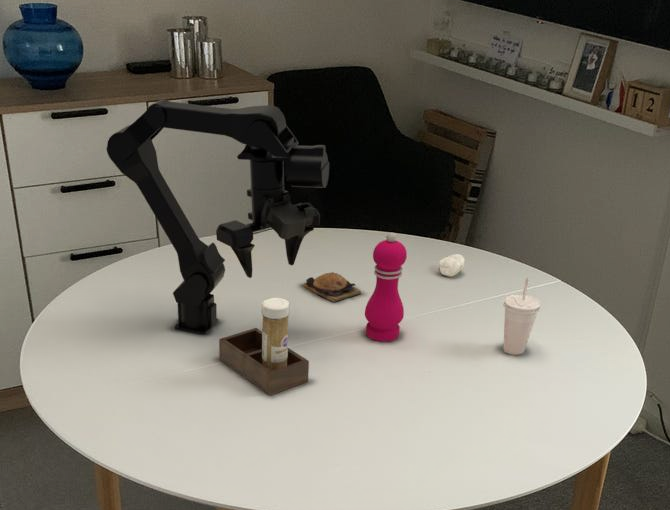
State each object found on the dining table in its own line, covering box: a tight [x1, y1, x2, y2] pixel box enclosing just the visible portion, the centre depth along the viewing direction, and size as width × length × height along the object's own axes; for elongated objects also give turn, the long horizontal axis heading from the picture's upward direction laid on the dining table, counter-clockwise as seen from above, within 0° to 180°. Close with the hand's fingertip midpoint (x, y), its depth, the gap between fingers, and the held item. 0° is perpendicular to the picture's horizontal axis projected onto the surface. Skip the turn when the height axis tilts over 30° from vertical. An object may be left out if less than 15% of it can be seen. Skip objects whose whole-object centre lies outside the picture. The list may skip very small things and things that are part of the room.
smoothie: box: [502, 276, 542, 356], centre depth 158 cm, size 6×6×14 cm
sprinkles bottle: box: [261, 297, 290, 371], centre depth 148 cm, size 5×5×13 cm
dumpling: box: [438, 253, 466, 278], centre depth 192 cm, size 7×5×4 cm
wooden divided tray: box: [218, 327, 310, 396], centre depth 154 cm, size 15×8×4 cm, turn 35°
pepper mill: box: [364, 232, 408, 342], centre depth 162 cm, size 7×7×20 cm
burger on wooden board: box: [302, 271, 362, 303], centre depth 183 cm, size 11×8×4 cm
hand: (270, 270), depth 159 cm, fingers open, 9 cm apart
